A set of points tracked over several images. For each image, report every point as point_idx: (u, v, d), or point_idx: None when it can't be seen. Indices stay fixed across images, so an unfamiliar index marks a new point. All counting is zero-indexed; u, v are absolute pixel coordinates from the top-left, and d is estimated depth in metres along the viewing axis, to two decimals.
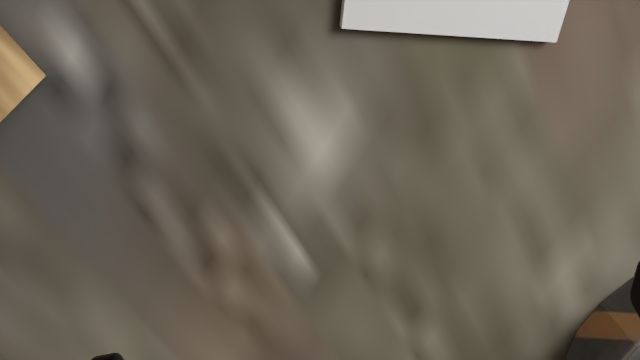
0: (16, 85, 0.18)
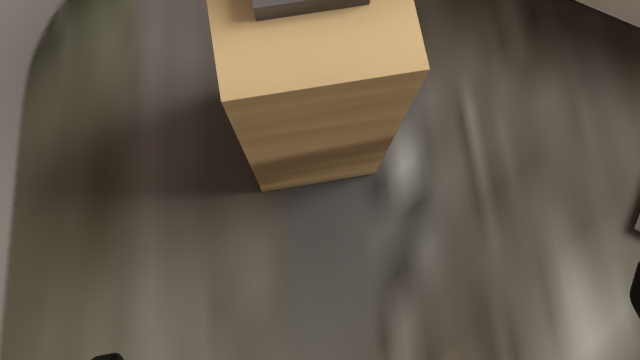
0: None
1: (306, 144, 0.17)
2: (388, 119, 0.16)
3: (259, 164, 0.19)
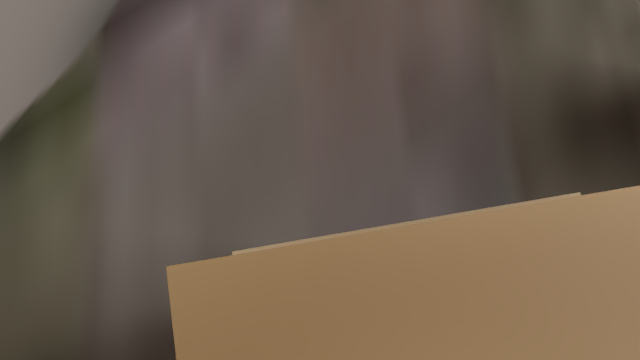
0: None
1: None
2: None
3: None
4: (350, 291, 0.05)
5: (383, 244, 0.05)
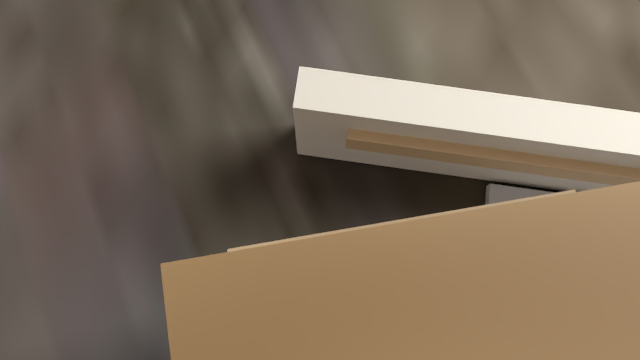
0: None
1: None
2: None
3: None
4: (343, 288, 0.05)
5: (377, 241, 0.05)
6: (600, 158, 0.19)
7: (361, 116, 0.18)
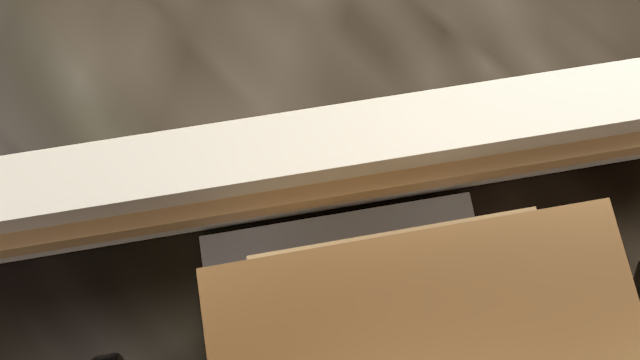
0: None
1: None
2: None
3: None
4: (342, 288, 0.06)
5: (369, 250, 0.06)
6: (255, 189, 0.13)
7: None
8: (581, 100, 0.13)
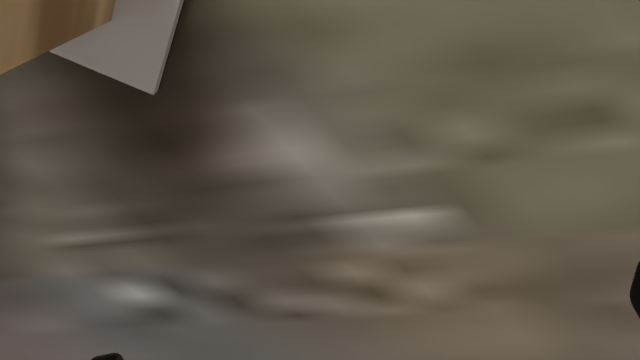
0: None
1: None
2: None
3: (37, 46, 0.14)
4: None
5: None
6: None
7: None
8: None
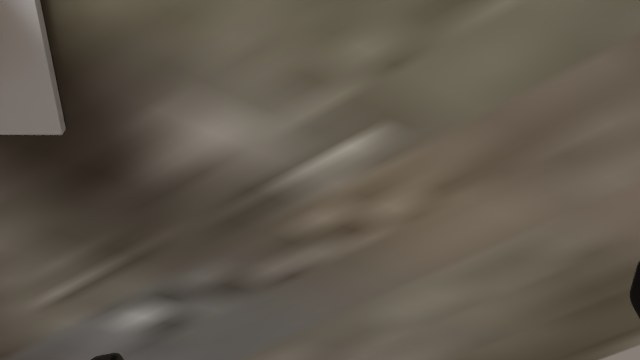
0: None
1: None
2: None
3: None
4: None
5: None
6: None
7: None
8: None
